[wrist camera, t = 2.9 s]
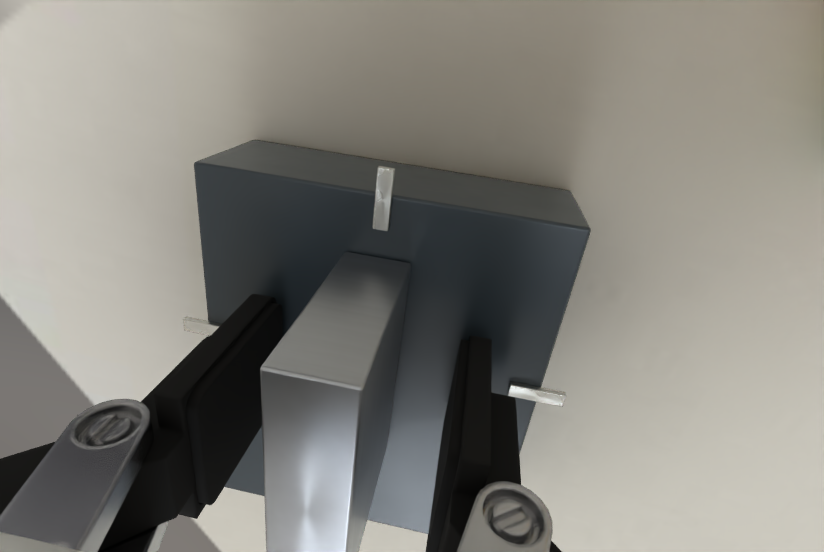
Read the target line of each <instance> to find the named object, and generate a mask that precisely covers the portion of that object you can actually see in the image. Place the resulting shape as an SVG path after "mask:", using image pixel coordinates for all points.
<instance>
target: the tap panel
mask: <svg viewBox="0 0 824 552" xmlns="http://www.w3.org/2000/svg"><path fill="white" fill-rule="evenodd" d="M194 170H195V181H196V191H197V202H198V213H199V224H200V234H201V245H202V256H203V267H204V277H205V288H206V299H207V310H208V320H209V321H205V320H200V319H195V318H190V317H186V318H185V319H183V322H184V330H185V331H190V332H195V333H200V334H205V335H210V336H211V335H212V334H213V333H214V332H215V331H216V330H217V329H218V328H219V327H220V326H221V325H222V324H223V323H224V322H225V321H226V320H227V319H228V318H229V317H230V316H231V314H232V313H233V312H234V311H235V310H236V309H237V308H238V307H239V306H240V305H241V304H242V303H243V302H244V301H245V300H246V299H247V298H248V297H249V296H250V295H252V294H258V295H263V296H269V297H274V298H275V299H276V302H277V304H281V305H282V320H283V336H284V335H285V333H286V332H287V331H288V329H289V328H290V327H291V325H292V324H293V322H294V321H295V320H296V318H297V317H298V316H299V314H300V313H301V312H302V310H303V309H304V308H305V306H306V305H307V303H308V302H309V301H310V299H311V298H312V297H313V295H314V294H315V293H316V291H317V290H318V288H319V287H320V286H321V284H322V283H323V282H324V280H325V279H326V278H327V276H328V275H329V273H330V272H331V271H332V269H333V268H334V267H335V265H336V264H337V263H338V261H339V260H340V258H341V257H342V256H343V254H344V253H345V252H350V253H356V254H361V255H367V256H372V257H378V258H383V259H389V260H394V261H400V262H406V263H410V264H411V270H410V278H409V285H408V293H407V300H406V307H405V315H404V322H403V330H402V337H401V344H400V352H399V359H398V367H397V374H396V382H395V389H394V396H393V404H392V411H391V419H390V426H389V433H388V441H387V448H386V452H385V455H384V459H383V463H382V467H381V470H380V474H379V478H378V481H377V485H376V489H375V492H374V496H373V500H372V503H371V507H370V511H369V515H368V518H367V520H370V521H374V522H379V523H383V524H387V525H392V526H396V527H400V528H405V529H409V530H413V531H417V532H422V533H426V534H428V532H429V525H430V517H431V510H432V503H433V495H434V488H435V481H436V473H437V466H438V459H439V451H440V444H441V437H442V430H443V424H444V418H445V413H446V409H447V404H448V399H449V394H450V389H451V384H452V379H453V375H454V370H455V365H456V360H457V355H458V350H459V345H460V341H461V339H463V340H468V341H469V337H470V335H472V336H477V337H482V338H487V339H491V340H492V380H491V392H492V393H497V394H502V395H507V396H512V397H515V399H516V410H517V426H518V443H519V454H520V451H521V448H522V445H523V442H524V438H525V435H526V432H527V429H528V426H529V423H530V420H531V417H532V413H533V410H534V407H535V404H536V402H541V403H546V404H551V405H556V406H561V407H562V406H563V404H564V401H565V398H566V393H565V392H561V391H556V390H551V389H546V388H541V385H542V382H543V379H544V376H545V373H546V370H547V366H548V363H549V360H550V357H551V354H552V351H553V348H554V345H555V341H556V338H557V335H558V332H559V329H560V326H561V323H562V320H563V316H564V313H565V310H566V307H567V304H568V301H569V298H570V295H571V291H572V288H573V285H574V282H575V279H576V276H577V273H578V270H579V266H580V263H581V260H582V257H583V254H584V251H585V248H586V245H587V241H588V238H589V235H590V232H591V229H590V227H589V225H588V223H587V221H586V219H585V217H584V215H583V214H582V212H581V210H580V208H579V206H578V204H577V202H576V200H575V199H574V197H573V195H572V193H571V192H570V191H568V190H562V189H555V188H549V187H543V186H537V185H531V184H525V183H518V182H512V181H506V180H500V179H494V178H487V177H481V176H475V175H469V174H463V173H457V172H450V171H444V170H438V169H432V168H426V167H419V166H413V165H407V164H401V163H395V162H389V161H382V160H376V159H370V158H364V157H358V156H351V155H345V154H339V153H333V152H327V151H321V150H314V149H308V148H302V147H296V146H290V145H283V144H277V143H271V142H265V141H259V140H252V141H249V142H247V143H244V144H241V145H239V146H236V147H234V148H231V149H228V150H226V151H223V152H220V153H218V154H215V155H212V156H210V157H207V158H205V159H202V160H199V161H197V162H195V163H194ZM225 487H227V488H232V489H236V490H240V491H244V492H249V493H253V494H257V495H262V496H265V492H264V463H263V434H262V426H261V428H260V430H259V431H258V433H257V434H256V436H255V438H254V439H253V441H252V443H251V444H250V446H249V447H248V449H247V451H246V452H245V454H244V456H243V457H242V459H241V460H240V462H239V464H238V465H237V467H236V469H235V470H234V472H233V473H232V475H231V477H230V478H229V480H228V481H227V483H226V485H225Z"/></svg>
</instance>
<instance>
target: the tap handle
mask: <svg viewBox="0 0 824 552" xmlns="http://www.w3.org/2000/svg"><path fill="white" fill-rule="evenodd" d="M410 270H411V264H410V263H406V262H400V261H394V260H389V259H383V258H378V257H372V256H367V255H361V254H356V253H350V252H345V253H344V254H343V256H342V257H341V258H340V260H339V261H338V263H337V264H336V265H335V267H334V268H333V269H332V271H331V272H330V273H329V275H328V276H327V278H326V279H325V280H324V282H323V283H322V284H321V286H320V287H319V288H318V290H317V291H316V293H315V294H314V295H313V297H312V298H311V299H310V301H309V302H308V303H307V305H306V306H305V308H304V309H303V310H302V312H301V313H300V314H299V316H298V317H297V318H296V320H295V321H294V322H293V324H292V325H291V327H290V328H289V329H288V331H287V332H286V333H285V335H284V336H283V337H282V339H281V340H280V342H279V343H278V344H277V346H276V347H275V348H274V350H273V351H272V352H271V354H270V355H269V357H268V358H267V359H266V361H265V362H264V363H263V365H262V366H261V368H260V376H261V405H262V434H263V463H264V492H265V521H266V550H267V552H359V548H360V544H361V540H362V537H363V533H364V529H365V526H366V522H367V518H368V515H369V511H370V507H371V503H372V500H373V496H374V492H375V489H376V485H377V481H378V478H379V474H380V470H381V467H382V463H383V459H384V455H385V452H386V448H387V441H388V433H389V426H390V419H391V411H392V404H393V396H394V389H395V382H396V374H397V367H398V359H399V352H400V344H401V337H402V330H403V322H404V315H405V307H406V300H407V293H408V285H409V278H410Z"/></svg>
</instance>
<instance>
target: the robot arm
mask: <svg viewBox="0 0 824 552" xmlns="http://www.w3.org/2000/svg"><path fill="white" fill-rule="evenodd" d="M282 337H283V320H282V305H281V304H277V302H276V299H275V298H274V297H269V296H263V295H258V294H252V295H250V296H249V297H248V298H247V299H246V300H245V301H244V302H243V303H242V304H241V305H240V306H239V307H238V308H237V309H236V310H235V311H234V312H233V313H232V314H231V316H230V317H229V318H228V319H227V320H226V321H225V322H224V323H223V324H222V325H221V326H220V327H219V328H218V329H217V330H216V331H215V332H214V333H213V334H212V335H211V336H208V337H206V338H205V339H204V340H202V341H201V342H200V343H199V344H198V345H197V346H196V347H195V348H194V349H193V350H192V351H191V352H190V353H189V354H188V355H187V356H186V357H185V358H184V359H183V360H182V361H181V362H180V363H179V364H178V365H177V366H176V367H175V368H174V369H173V370H172V371H171V372H170V373H169V374H168V375H167V376H166V377H165V378H164V379H163V380H162V381H161V382H160V383H159V384H158V385H157V386H156V387H155V388H154V389H153V390H152V391H151V392H150V393H149V394H148V395H147V396H146V397H145V398H144V399H143V400H142V401H141V402H139V401H137V400H131V399H115V400H110V401H106V402H102V403H99V404H97V405H95V406H92V407H90V408H88V409H86V410H85V411H83V412H82V413H80V414H79V415H77V417H76V418H74V419H73V420H72V421H71V423H70V424H69V425H68V427H67V428H66V429H65V430H64V432H63V433H62V434H61V436H60V437H59V438H58V439H57V441H56V442H53V443H50V444H47V445H43V446H40V447H37V448H34V449H30V450H27V451H24V452H21V453H17V454H14V455H11V456H8V457H4V458H2V459H0V552H157V551H158V549H159V546H160V544H161V541H162V539H163V536H164V534H165V531H166V529H167V525H168V521H169V520H171V519H174V518H176V517H177V516H178V514H179V515H184V516H188V517H192V518H196V519H197V518H198V516H199V515H200V513H201V511H202V510H203V508H204V507H205V505H206V504H208V505H212V504H213V503H214V502H215V501H216V499H217V498H218V496H219V494H220V493H221V491H222V490H223V488H224V486H225V485H226V483H227V481H228V480H229V478H230V477H231V475H232V473H233V472H234V470H235V469H236V467H237V465H238V464H239V462H240V460H241V459H242V457H243V456H244V454H245V452H246V451H247V449H248V447H249V446H250V444H251V443H252V441H253V439H254V438H255V436H256V434H257V433H258V431H259V430H260V428H261V426H262V405H261V376H260V368H261V366H262V365H263V363H264V362H265V361H266V359H267V358H268V357H269V355H270V354H271V352H272V351H273V350H274V348H275V347H276V346H277V344H278V343H279V342H280V340H281V339H282ZM491 380H492V340H491V339H487V338H482V337H477V336H472V335H470V337H469V341H468V340H463V339H461V341H460V345H459V350H458V355H457V360H456V365H455V370H454V375H453V379H452V384H451V389H450V394H449V399H448V404H447V409H446V413H445V418H444V424H443V430H442V437H441V444H440V451H439V459H438V466H437V473H436V481H435V488H434V495H433V503H432V510H431V517H430V525H429V532H428V539H427V546H426V552H561V550H560V549H559V548H558V547H557V546H556V545H555V544H554V543H553V542H552V541H551V538H552V519H551V516H550V513H549V510H548V509H547V507H546V506H545V504H544V503H543V501H542V500H541V499H540V498H539V497H538V496H537V495H536V494H534V493H533V492H532V491H531V490H529V489H527V488H525V487H524V486H522V485H521V476H520V459H519V443H518V426H517V410H516V399H515V397H512V396H507V395H502V394H497V393H492V392H491Z"/></svg>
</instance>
